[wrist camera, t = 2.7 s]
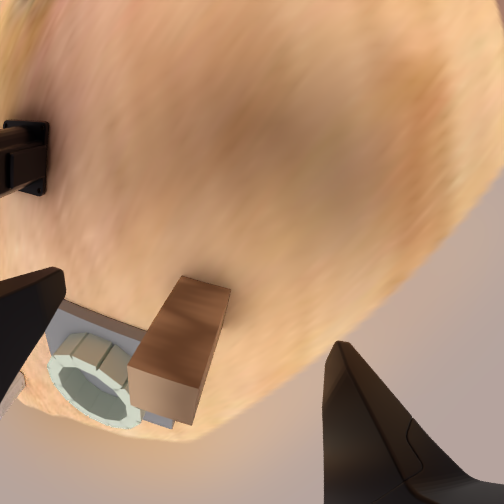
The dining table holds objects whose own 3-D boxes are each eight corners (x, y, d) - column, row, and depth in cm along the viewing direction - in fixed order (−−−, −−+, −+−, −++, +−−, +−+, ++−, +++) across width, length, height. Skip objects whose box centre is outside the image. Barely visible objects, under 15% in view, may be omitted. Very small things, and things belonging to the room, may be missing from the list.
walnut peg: (176, 315, 25) (130, 405, 16) (181, 275, 23) (126, 365, 14) (221, 328, 25) (191, 425, 16) (231, 289, 23) (198, 388, 14)
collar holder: (65, 375, 32) (47, 400, 28) (45, 291, 26) (17, 317, 22) (175, 420, 32) (163, 452, 28) (184, 343, 26) (166, 383, 22)
